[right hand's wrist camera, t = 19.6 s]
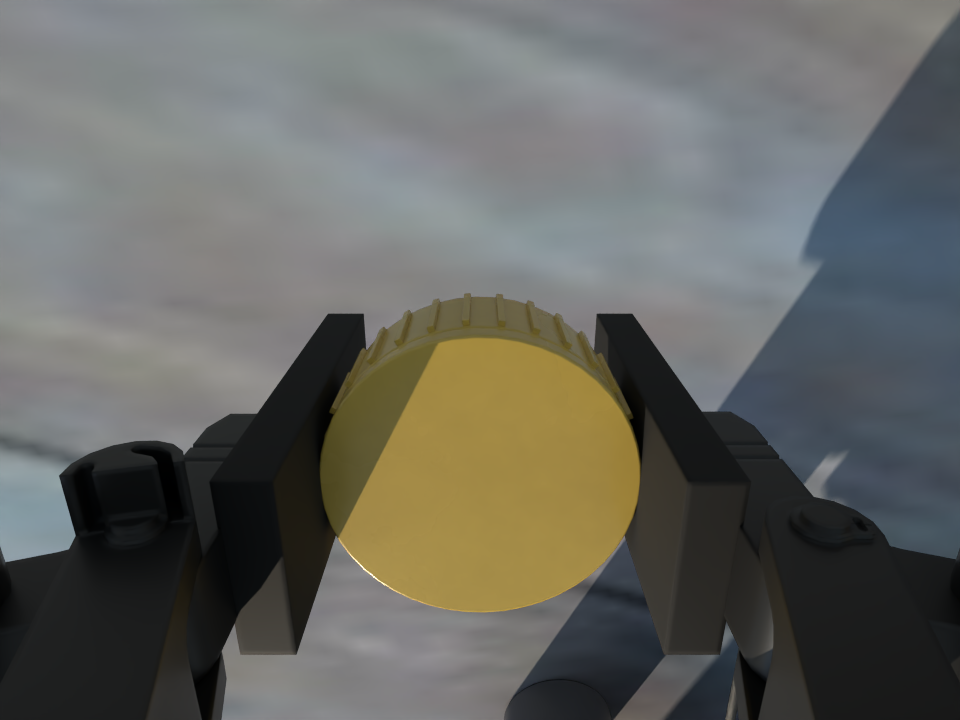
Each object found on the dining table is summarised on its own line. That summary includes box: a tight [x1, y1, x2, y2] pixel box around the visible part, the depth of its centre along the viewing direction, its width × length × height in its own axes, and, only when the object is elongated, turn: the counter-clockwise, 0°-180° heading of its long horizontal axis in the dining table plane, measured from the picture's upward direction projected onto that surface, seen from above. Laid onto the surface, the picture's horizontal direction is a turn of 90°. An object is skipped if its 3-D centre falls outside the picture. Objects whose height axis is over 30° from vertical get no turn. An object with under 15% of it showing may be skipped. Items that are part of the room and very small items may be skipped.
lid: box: [319, 293, 641, 612], centre depth 11 cm, size 5×5×2 cm
